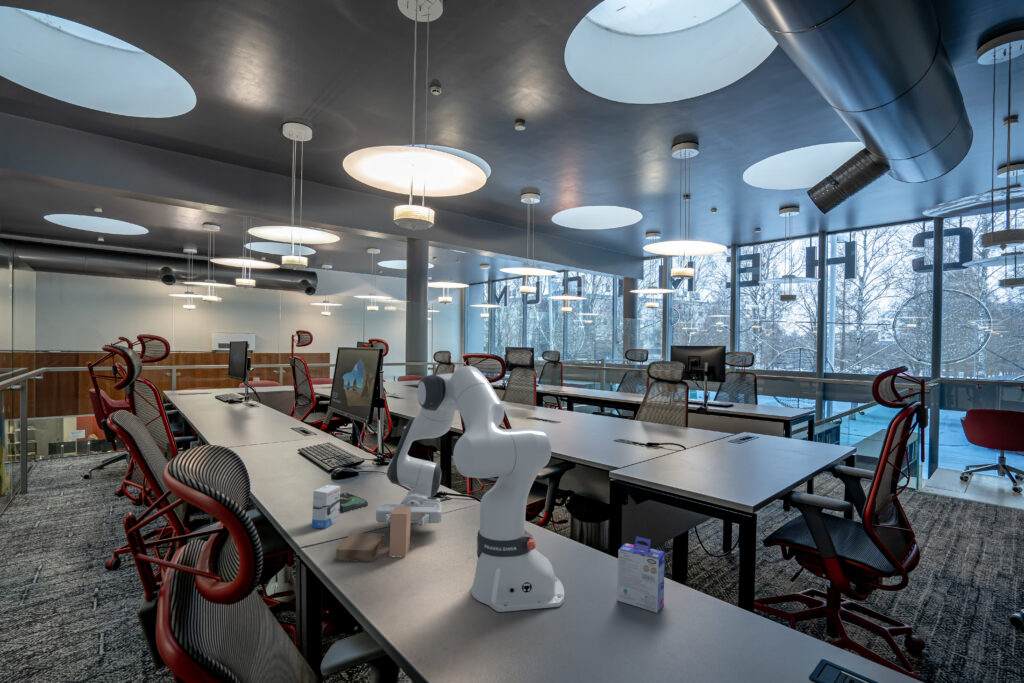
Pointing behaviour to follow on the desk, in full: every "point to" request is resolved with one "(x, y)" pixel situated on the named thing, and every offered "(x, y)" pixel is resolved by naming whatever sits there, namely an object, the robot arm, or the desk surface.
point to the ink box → (326, 506)
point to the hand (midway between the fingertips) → (404, 522)
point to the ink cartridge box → (641, 575)
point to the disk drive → (351, 502)
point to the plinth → (360, 547)
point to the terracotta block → (400, 531)
